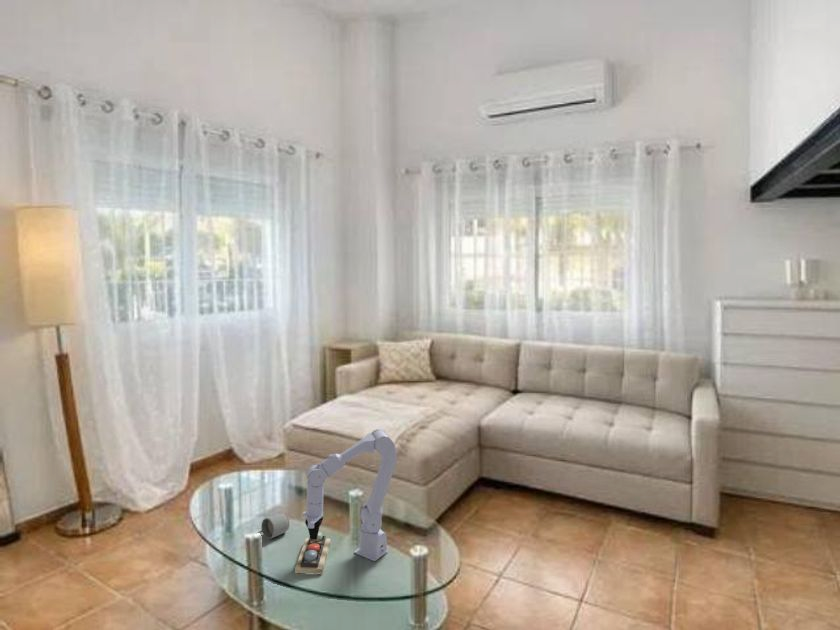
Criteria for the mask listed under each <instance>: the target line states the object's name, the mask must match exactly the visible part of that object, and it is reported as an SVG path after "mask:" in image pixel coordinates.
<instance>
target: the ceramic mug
mask: <svg viewBox="0 0 840 630" xmlns="http://www.w3.org/2000/svg"><path fill="white" fill-rule="evenodd" d="M289 529H290V520H289V517H288V515H286V514H285V513H277V514H274V515H271V516H268V517H265V518H263V519H262V522H261V532H262V534H263V537H265V539H267V540H271V539H274V538H275V537H276V538H277V537H278V536H280V535H282V534H285V533H286V532H288V530H289Z"/></svg>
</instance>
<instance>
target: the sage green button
mask: <svg viewBox="0 0 840 630" xmlns="http://www.w3.org/2000/svg"><path fill="white" fill-rule="evenodd" d="M322 536H324V535H323V532H321V531H319V532H318V536H317V539H316V540H311V541H312V542H320V541H322Z"/></svg>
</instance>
